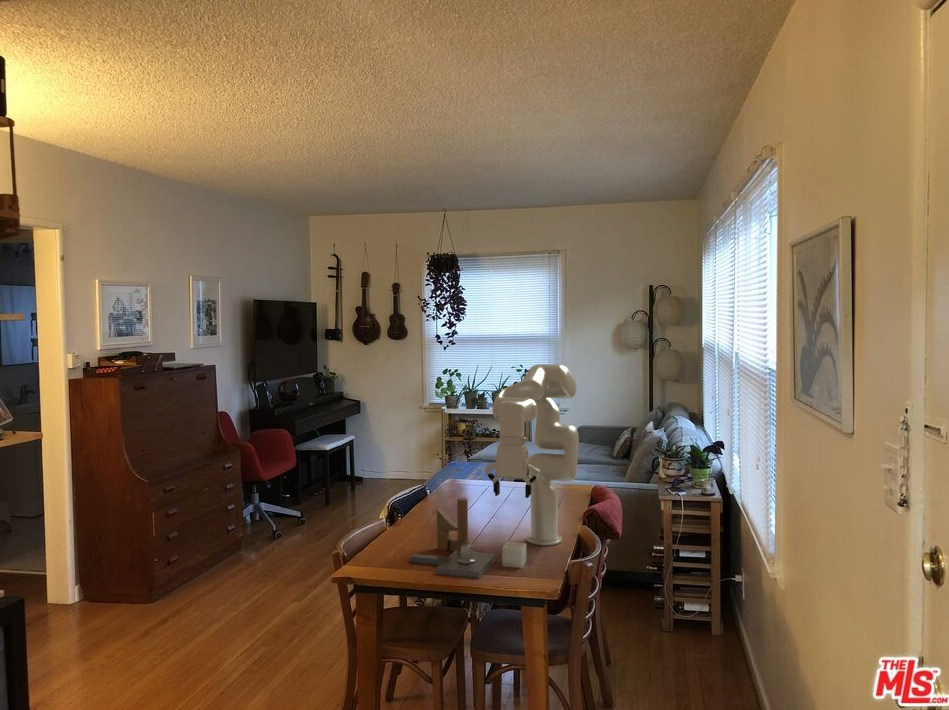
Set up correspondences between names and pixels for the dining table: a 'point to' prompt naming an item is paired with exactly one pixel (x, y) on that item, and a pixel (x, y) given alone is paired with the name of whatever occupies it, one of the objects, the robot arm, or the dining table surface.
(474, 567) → the tang block
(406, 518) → the dining table surface
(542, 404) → the robot arm
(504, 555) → the socket
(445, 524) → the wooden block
